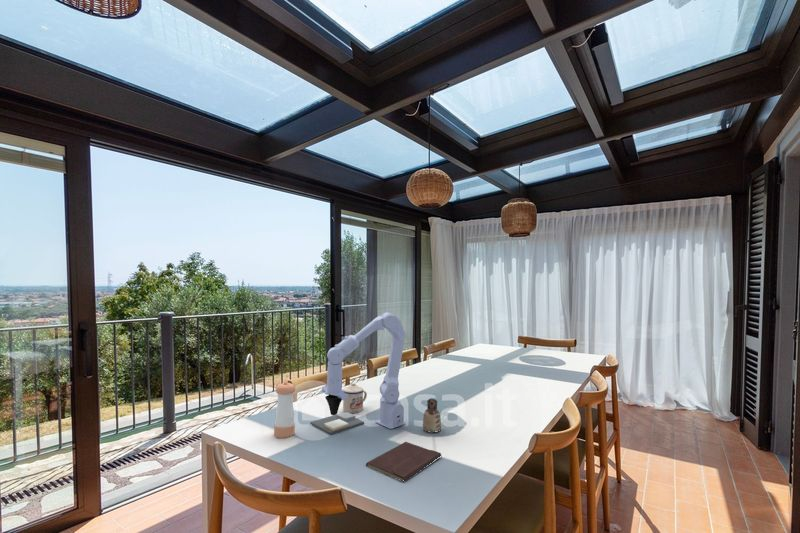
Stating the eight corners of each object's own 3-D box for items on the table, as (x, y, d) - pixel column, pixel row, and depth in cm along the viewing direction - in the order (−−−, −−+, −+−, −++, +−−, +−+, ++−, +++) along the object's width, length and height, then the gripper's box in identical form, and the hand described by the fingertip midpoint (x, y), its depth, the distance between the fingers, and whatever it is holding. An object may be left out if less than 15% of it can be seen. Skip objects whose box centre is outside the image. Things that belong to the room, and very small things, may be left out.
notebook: (365, 467, 116) (366, 460, 116) (405, 445, 132) (405, 440, 132) (404, 484, 107) (404, 477, 107) (441, 459, 122) (441, 452, 122)
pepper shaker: (273, 431, 141) (275, 380, 142) (293, 429, 144) (294, 378, 145) (274, 439, 135) (275, 385, 135) (295, 436, 137) (296, 383, 138)
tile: (339, 422, 150) (348, 426, 145) (324, 426, 145) (333, 431, 140) (339, 419, 150) (348, 423, 145) (324, 423, 145) (333, 428, 140)
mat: (363, 423, 150) (364, 421, 150) (330, 434, 139) (330, 432, 139) (343, 414, 160) (343, 412, 160) (310, 424, 149) (310, 422, 149)
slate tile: (355, 418, 153) (355, 415, 153) (345, 421, 150) (345, 418, 150) (346, 414, 158) (346, 411, 158) (336, 417, 154) (336, 414, 154)
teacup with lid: (350, 415, 160) (351, 387, 160) (338, 409, 166) (338, 382, 167) (372, 408, 168) (372, 382, 168) (360, 403, 175) (360, 378, 175)
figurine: (442, 427, 148) (442, 396, 148) (439, 434, 141) (439, 401, 142) (424, 425, 150) (425, 394, 150) (421, 431, 143) (421, 399, 143)
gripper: (315, 377, 149) (315, 411, 149) (336, 384, 139) (336, 422, 138) (330, 374, 154) (330, 407, 154) (352, 381, 144) (351, 417, 143)
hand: (333, 414), depth 146 cm, fingers closed
